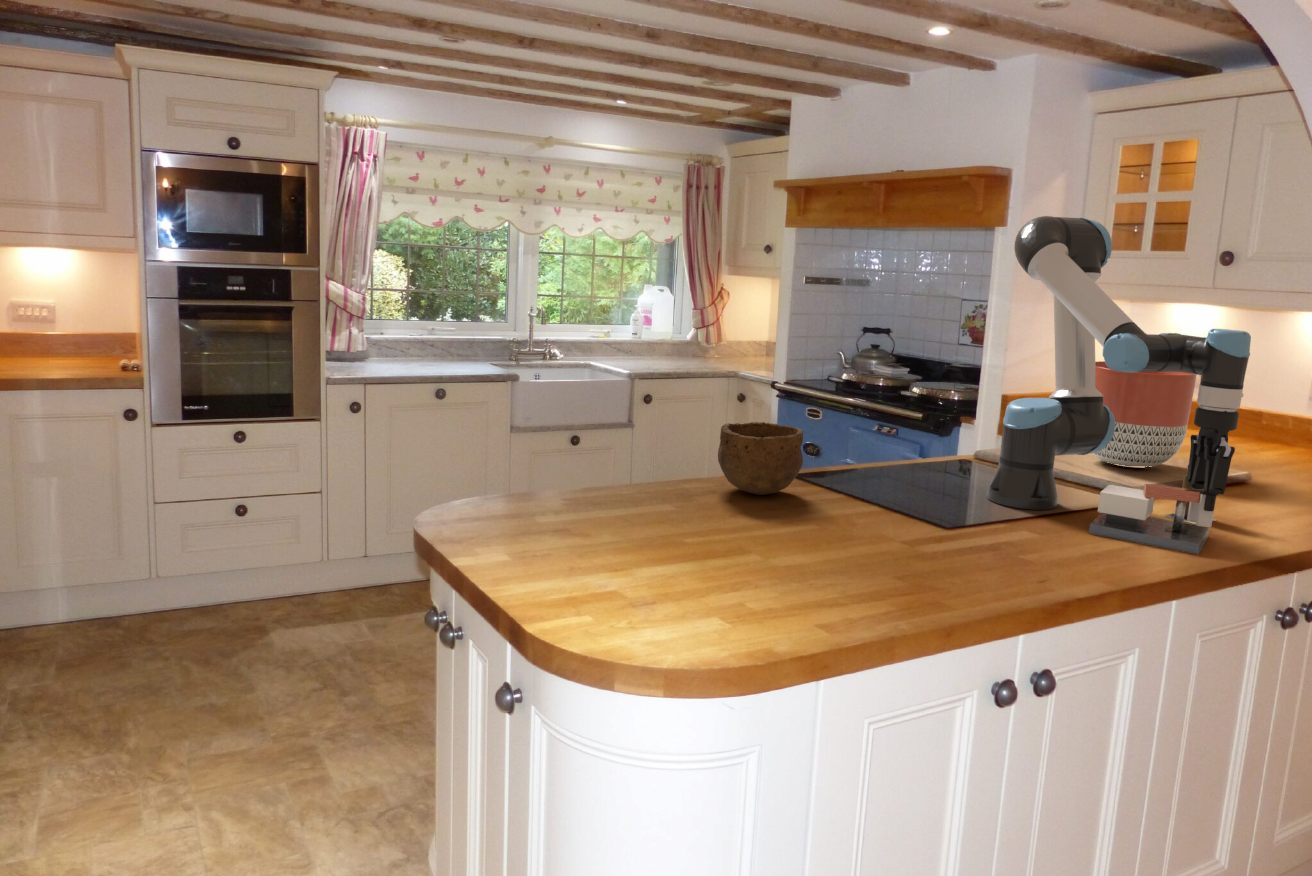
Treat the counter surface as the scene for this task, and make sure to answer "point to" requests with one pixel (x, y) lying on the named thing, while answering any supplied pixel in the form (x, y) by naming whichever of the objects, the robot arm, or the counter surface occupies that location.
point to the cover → (1125, 502)
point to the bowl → (760, 456)
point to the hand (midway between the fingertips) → (1198, 523)
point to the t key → (1174, 494)
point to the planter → (1145, 414)
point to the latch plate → (1151, 532)
